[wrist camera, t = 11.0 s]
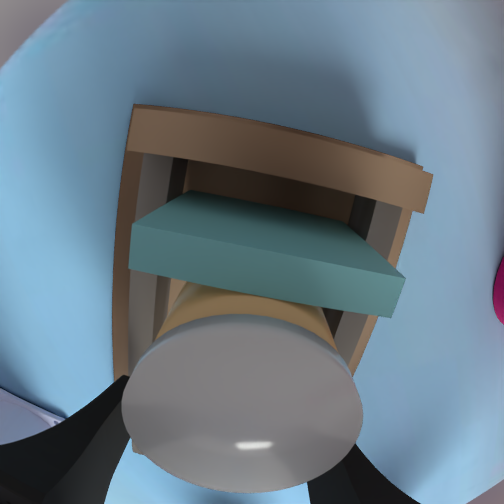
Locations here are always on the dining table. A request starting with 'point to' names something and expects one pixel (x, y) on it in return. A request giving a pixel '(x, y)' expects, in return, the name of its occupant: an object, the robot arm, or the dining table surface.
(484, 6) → the dining table surface
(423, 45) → the dining table surface
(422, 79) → the dining table surface
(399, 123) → the dining table surface
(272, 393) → the jar
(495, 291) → the pepper mill
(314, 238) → the pusher
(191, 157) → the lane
